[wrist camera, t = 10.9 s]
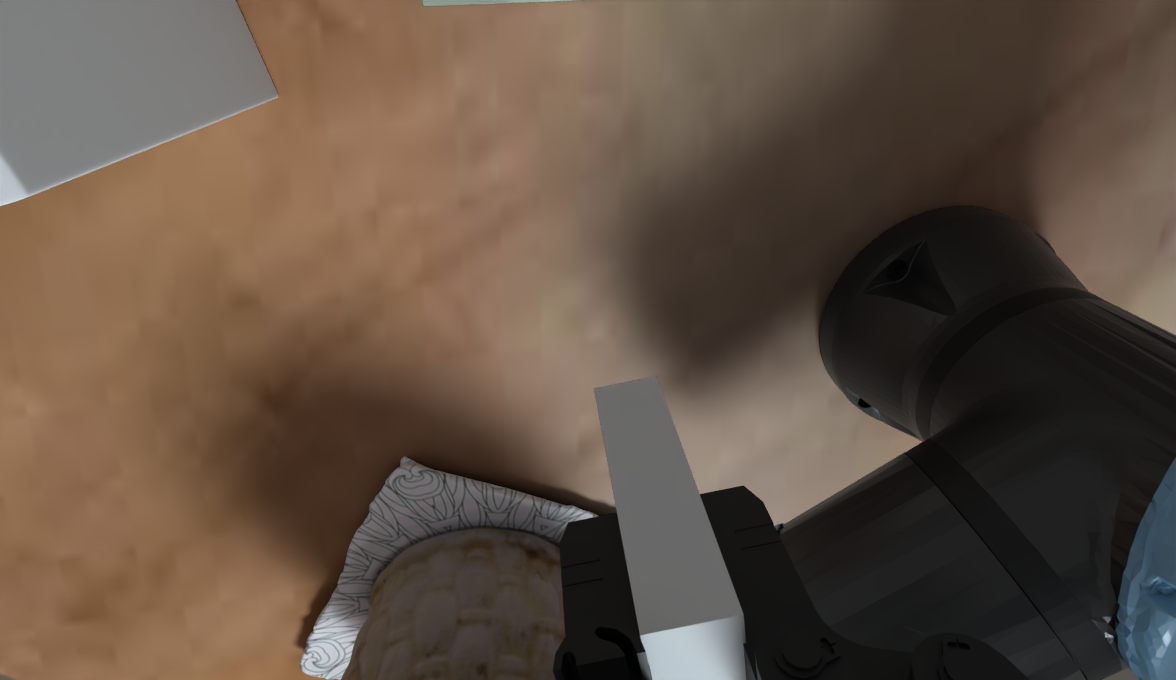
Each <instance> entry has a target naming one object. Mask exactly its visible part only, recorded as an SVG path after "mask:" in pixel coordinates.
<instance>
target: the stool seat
mask: <svg viewBox="0 0 1176 680" xmlns="http://www.w3.org/2000/svg"><path fill="white" fill-rule="evenodd" d="M545 1H571V0H423V5H424V6H439V5H466V4H492V3H518V2H545Z"/></svg>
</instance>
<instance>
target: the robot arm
mask: <svg viewBox="0 0 1176 680" xmlns="http://www.w3.org/2000/svg"><path fill="white" fill-rule="evenodd" d="M820 349H821V355H822V359H823V362H824V365H825V368H826V370H827V372H828V374H829V376H830V377H831V379H832V380H833V381H834V383H835V384H836V385H837V386H838V387H839V389H840V390H841V391H842V392H843V393H844V395H845V396H846V397H847V398H848V399H849V400H850V401H851V402H852V403H853V404H854V405H855V406H856V407H858V408H859V409H860V410H862V411H863V412H865V413H866V414H868V415H870V416H872V417H874V418H876V419H878V420H880V421H882V422H884V423H886V424H888V425H890V426H892V427H894V428H896V429H898V430H900V431H902V432H904V433H906V434H908V435H910V436H912V437H914V438H916V439H918V440H920V441H923V442H922V443H920V444H919V445H917V446H915V447H914V448H912V449H910V450H909V451H907V452H905V453H903V454H901V455H899V456H898V457H896V458H894V459H893V460H891V461H889V462H888V463H886V464H884V465H883V466H881V467H879V468H878V469H876V470H874V471H873V472H871V473H869V474H868V475H866V476H864V477H863V478H861V479H859V480H858V481H856V482H854V483H853V484H851V485H849V486H848V487H846V488H844V489H843V490H841V491H839V492H838V493H836V494H834V495H832V496H831V497H829V498H827V499H826V500H824V501H822V502H821V503H819V504H817V505H816V506H814V507H812V508H811V509H809V510H807V511H806V512H804V513H802V514H801V515H799V516H797V517H796V518H794V519H792V520H791V521H789V522H787V523H786V524H782V523H781V524H777V525H776V526H774V525H773V522H772V519H771V517H770V515H769V513H768V511H767V509H766V507H765V505H764V503H763V502H762V501H761V500H760V499H759V498H758V497H757V496H755V495H754V494H753V493H752V492H751V491H749V490H748V489H747V488H746V487H745V486H739V487H734V488H729V489H724V490H719V491H714V492H709V493H704V494H699V491H698V489H697V486H696V483H695V480H694V478H693V475H692V472H691V469H690V467H689V464H688V461H687V458H686V456H685V453H684V450H683V448H682V445H681V442H680V439H679V437H678V434H677V431H676V428H675V426H674V423H673V420H672V417H671V415H670V412H669V409H668V407H667V404H666V401H665V398H664V396H663V393H662V390H661V387H660V385H659V382H658V379H657V376H653V377H648V378H643V379H638V380H633V381H628V382H624V383H619V384H614V385H609V386H604V387H599V388H594V392H595V398H596V403H597V409H598V414H599V419H600V425H601V430H602V435H603V441H604V446H605V451H606V457H607V462H608V467H609V473H610V478H611V483H612V489H613V494H614V499H615V505H616V510H617V513H612V514H607V515H602V516H597V517H593V518H588V519H583V520H578V521H573V522H568V524H567V526H566V529H565V531H564V534H563V536H562V538H561V541H560V543H559V551H560V566H561V580H562V589H563V591H562V595H563V610H564V625H565V638H564V639H563V641H562V643H561V644H560V646H559V648H558V650H557V651H556V653H555V658H554V665H553V673H554V676H555V680H1102V679H1104V678H1106V677H1109V676H1111V675H1113V674H1115V673H1117V672H1119V671H1121V670H1124V669H1126V668H1129V669H1130V670H1131V671H1132V672H1133V674H1134V675H1135V676H1136V677H1137V678H1138V679H1139V680H1176V335H1174V334H1172V333H1170V332H1168V331H1166V330H1164V329H1162V328H1160V327H1158V326H1156V325H1154V324H1152V323H1150V322H1148V321H1146V320H1144V319H1142V318H1140V317H1138V316H1136V315H1134V314H1132V313H1130V312H1128V311H1126V310H1124V309H1122V308H1120V307H1118V306H1116V305H1113V304H1111V303H1109V302H1107V301H1105V300H1103V299H1101V298H1099V297H1097V296H1095V295H1094V294H1092V293H1090V292H1089V291H1088V290H1087V289H1086V288H1085V287H1084V285H1083V284H1082V283H1081V282H1080V281H1079V280H1078V278H1077V277H1076V276H1075V275H1074V274H1073V273H1072V271H1071V270H1070V269H1069V268H1068V267H1067V266H1066V265H1065V264H1064V262H1063V261H1062V260H1061V259H1060V258H1059V257H1058V256H1057V255H1056V253H1055V251H1054V250H1053V248H1052V247H1051V245H1050V244H1049V243H1048V242H1047V240H1046V239H1045V238H1043V237H1042V236H1041V235H1040V234H1039V233H1037V232H1036V231H1035V230H1033V229H1032V228H1030V227H1029V226H1027V225H1025V224H1023V223H1021V222H1019V221H1017V220H1014V219H1012V218H1010V217H1007V216H1005V215H1003V214H1001V213H998V212H996V211H993V210H990V209H985V208H980V207H971V206H956V207H947V208H942V209H937V210H933V211H929V212H926V213H923V214H920V215H918V216H915V217H912V218H910V219H908V220H906V221H904V222H902V223H900V224H898V225H896V226H895V227H893V228H891V229H890V230H888V231H887V232H885V233H884V234H882V235H881V236H879V237H878V238H877V239H876V240H874V241H873V242H872V243H871V244H869V245H868V246H867V247H866V248H865V249H864V250H863V251H862V252H861V253H860V254H859V255H858V256H857V257H856V258H855V259H854V260H853V261H852V262H851V264H850V265H849V266H848V267H847V269H846V270H845V271H844V273H843V274H842V276H841V277H840V278H839V280H838V282H837V283H836V285H835V287H834V289H833V291H832V293H831V295H830V297H829V299H828V301H827V304H826V307H825V310H824V313H823V317H822V322H821V328H820Z"/></svg>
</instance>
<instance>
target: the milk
mask: <svg viewBox="0 0 1176 680" xmlns="http://www.w3.org/2000/svg"><path fill="white" fill-rule="evenodd" d="M276 98H278V93H277V91H276V88H275V86H274V84H273V82H272V79H271V77H270V75H269V73H268V71H267V68H266V66H265V64H264V62H263V59H262V57H261V55H260V53H259V51H258V48H257V46H256V44H255V42H254V39H253V37H252V35H251V33H250V31H249V28H248V26H247V24H246V22H245V19H244V17H243V15H242V13H241V11H240V8H239V6H238V4H237V2H236V0H0V206H2V205H5V204H8V203H12V202H15V201H18V200H21V199H24V198H27V197H29V196H32V195H34V194H37V193H39V192H42V191H44V190H47V189H50V188H52V187H55V186H57V185H60V184H62V183H65V182H67V181H70V180H72V179H75V178H77V177H80V176H82V175H85V174H87V173H90V172H92V171H95V170H97V169H100V168H102V167H105V166H107V165H110V164H112V163H115V162H117V161H120V160H122V159H125V158H127V157H130V156H132V155H135V154H137V153H140V152H142V151H145V150H147V149H150V148H153V147H155V146H158V145H160V144H163V143H165V142H168V141H170V140H173V139H175V138H178V137H180V136H183V135H185V134H188V133H190V132H193V131H195V130H198V129H200V128H203V127H205V126H208V125H210V124H213V123H215V122H218V121H220V120H223V119H225V118H228V117H230V116H233V115H235V114H238V113H240V112H243V111H245V110H248V109H250V108H253V107H256V106H258V105H261V104H263V103H266V102H268V101H271V100H273V99H276Z"/></svg>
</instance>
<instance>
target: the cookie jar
mask: <svg viewBox="0 0 1176 680" xmlns="http://www.w3.org/2000/svg"><path fill="white" fill-rule="evenodd" d="M369 511H370V512H369V514H368V516H367V517H366V519H365V520H364V522H363V524H362V525H361V527H359V528H358V529H357V531H356V533H355V535H354V537H353V539H352V542H351V544H350V546H349V548H348V551H347V556H346V561H345V565H344V569H343V571H342V573H341V575H340V576H339V580H338V585H337V588H336V589H335V591H334V592H333V594H332V596H331V598H330V600H329V602H328V603H327V605H326V606H325V608H324V609H323V611H322V612H321V614H320V615H319V617H318V619H317V621H316V623H315V625H314V628H313V629H314V630H313V631H312V632H311V634H310V635H309V637H308V638H307V640H306V647H305V649H304V653H303V655H302V661H301V664H300V668H301V670H302V671H303V672H304V673H306V674H308V675H311V676H315V677H322V678H326V679H329V680H331V679H340V680H555V676H554V673H553V665H554V658H555V653H556V651H557V650H558V648H559V646H560V644H561V643H562V641H563V639H564V638H565V625H564V610H563V595H562V591H563V589H562V580H561V566H560V551H559V543H560V541H561V538H562V536H563V534H564V531H565V529H566V526H567V524H568V522H573V521H578V520H583V519H588V518H593V517H597V516H598V515H596V514H594V513H592V512H589V511H585V510H582V509H580V508H577V507H575V506H573V505H569V506H566V505H563V504H559V503H556V502H553V501H549V500H546V499H542V498H539V497H536V496H532V495H529V494H526V493H522V492H519V491H515V490H512V489H508V488H505V487H501V486H497V485H493V484H489V483H485V482H481V481H477V480H473V479H469V478H465V477H461V476H457V475H453V474H450V473H446V472H442V471H438V470H434V469H431V468H428V467H425V466H423V465H421V464H419V463H417V462H415V461H413V460H411V459H409V458H407V457H405V456H404V457H403V458H402V459H401V462H400V467H398V468H397V469H395V470H394V471H393V472H392V473H391V475H390V476H389V477H388V479H387V480H386V482H385V484H384V486H383V488H382V490H381V491H380V492H379V493H378V494H377V496H376V497H375V499H374V501H373V502H372V503H371V504H369Z"/></svg>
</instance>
